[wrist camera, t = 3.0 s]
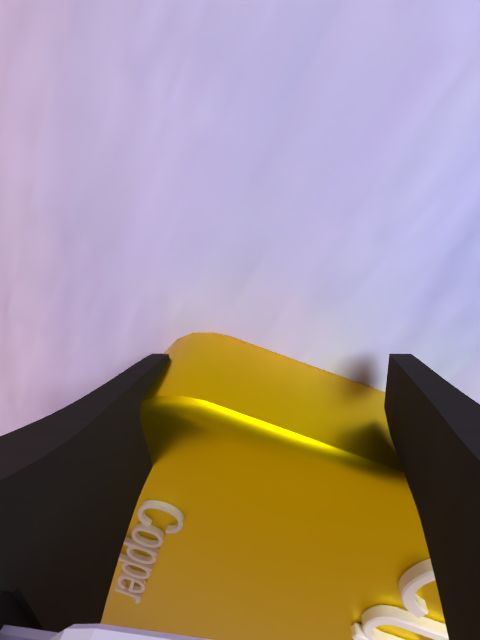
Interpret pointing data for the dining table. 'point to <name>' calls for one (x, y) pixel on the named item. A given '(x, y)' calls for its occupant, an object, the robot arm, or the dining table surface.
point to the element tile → (271, 507)
